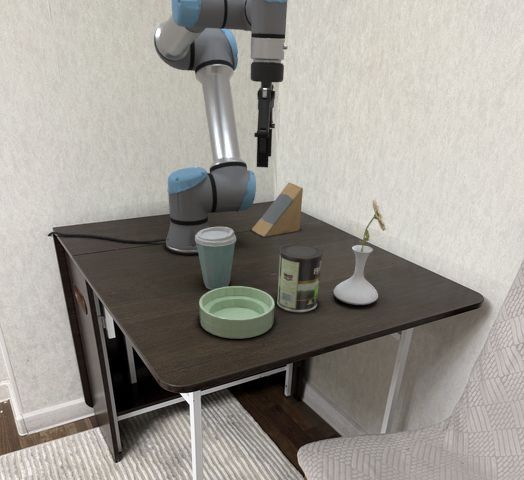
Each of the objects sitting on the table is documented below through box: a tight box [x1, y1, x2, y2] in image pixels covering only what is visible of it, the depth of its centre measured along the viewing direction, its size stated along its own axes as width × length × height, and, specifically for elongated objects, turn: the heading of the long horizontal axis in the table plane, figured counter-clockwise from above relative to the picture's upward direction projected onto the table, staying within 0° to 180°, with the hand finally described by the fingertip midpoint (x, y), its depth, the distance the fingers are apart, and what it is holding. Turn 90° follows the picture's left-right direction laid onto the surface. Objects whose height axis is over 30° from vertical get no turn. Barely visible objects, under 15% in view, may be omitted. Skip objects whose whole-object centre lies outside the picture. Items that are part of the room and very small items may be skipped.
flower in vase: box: [333, 199, 387, 306], centre depth 118 cm, size 13×11×25 cm
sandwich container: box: [251, 181, 304, 238], centre depth 166 cm, size 9×15×15 cm, turn 122°
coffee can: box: [276, 242, 324, 313], centre depth 118 cm, size 10×10×14 cm
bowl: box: [198, 285, 276, 339], centre depth 111 cm, size 17×17×5 cm
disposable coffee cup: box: [195, 226, 237, 291], centre depth 125 cm, size 11×11×15 cm
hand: (264, 161), depth 119 cm, fingers open, 13 cm apart
